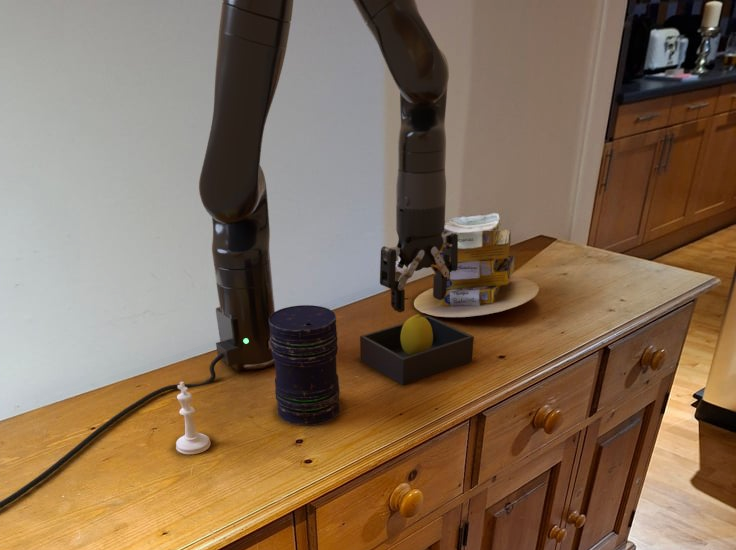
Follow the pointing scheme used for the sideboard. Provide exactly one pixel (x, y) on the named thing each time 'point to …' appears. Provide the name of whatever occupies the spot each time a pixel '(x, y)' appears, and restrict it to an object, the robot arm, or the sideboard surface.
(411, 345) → the lemon
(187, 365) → the sideboard surface
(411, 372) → the bin
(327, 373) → the storage jar
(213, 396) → the sideboard surface
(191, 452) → the chess piece
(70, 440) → the sideboard surface
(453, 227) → the plate of stacked packets
